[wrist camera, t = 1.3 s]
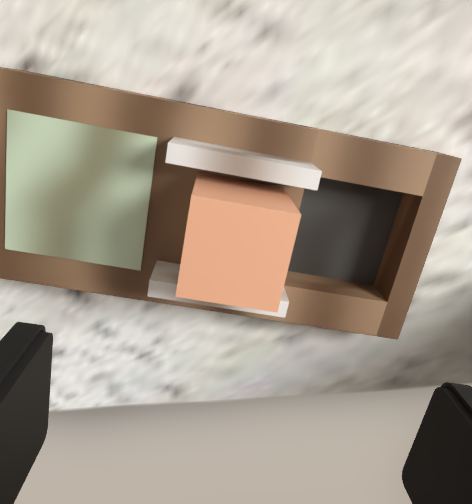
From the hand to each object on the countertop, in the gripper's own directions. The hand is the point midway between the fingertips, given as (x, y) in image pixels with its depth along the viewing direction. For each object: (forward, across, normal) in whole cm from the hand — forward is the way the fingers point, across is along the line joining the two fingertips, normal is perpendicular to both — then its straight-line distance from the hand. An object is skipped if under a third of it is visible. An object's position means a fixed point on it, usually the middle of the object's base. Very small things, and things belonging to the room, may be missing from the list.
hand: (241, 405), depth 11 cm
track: (+19, 0, 0) cm, 19 cm away
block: (+16, 0, 0) cm, 16 cm away
